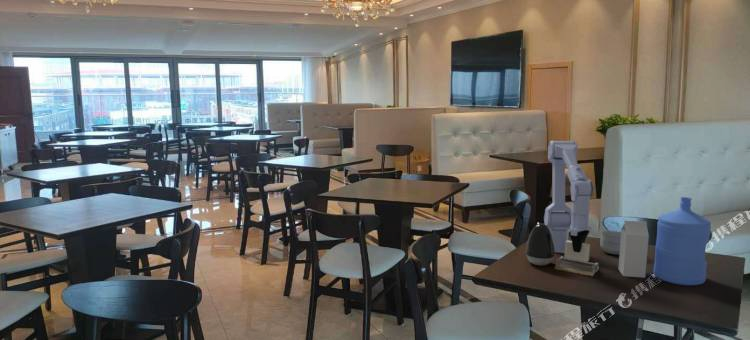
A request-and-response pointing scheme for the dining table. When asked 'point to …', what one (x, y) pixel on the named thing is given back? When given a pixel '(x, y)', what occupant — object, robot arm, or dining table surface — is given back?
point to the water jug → (681, 246)
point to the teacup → (610, 241)
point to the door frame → (576, 266)
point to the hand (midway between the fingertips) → (577, 250)
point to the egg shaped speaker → (540, 245)
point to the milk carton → (633, 249)
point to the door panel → (581, 255)
